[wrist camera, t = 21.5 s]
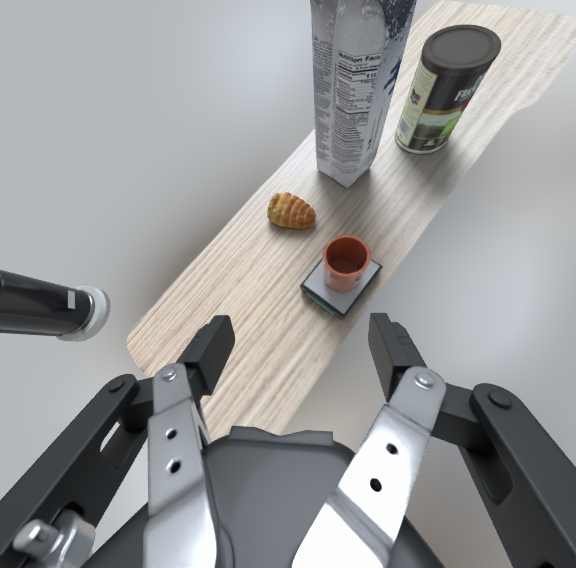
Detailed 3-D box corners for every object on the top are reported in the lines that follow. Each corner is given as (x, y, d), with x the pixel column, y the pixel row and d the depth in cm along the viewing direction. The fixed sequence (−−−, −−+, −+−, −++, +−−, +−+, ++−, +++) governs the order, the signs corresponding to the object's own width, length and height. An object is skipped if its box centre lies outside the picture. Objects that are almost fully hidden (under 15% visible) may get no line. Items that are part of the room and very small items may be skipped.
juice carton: (348, 195, 44) (383, -25, 18) (310, 170, 47) (296, -46, 22) (377, 167, 45) (450, -80, 19) (338, 144, 48) (356, -92, 22)
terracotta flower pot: (338, 300, 35) (342, 285, 27) (315, 272, 37) (314, 251, 29) (368, 278, 35) (380, 258, 28) (344, 252, 37) (349, 226, 30)
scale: (341, 322, 37) (342, 319, 34) (299, 291, 39) (298, 286, 37) (379, 270, 38) (384, 264, 35) (337, 244, 41) (338, 237, 38)
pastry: (321, 210, 44) (321, 197, 40) (307, 238, 42) (305, 227, 39) (280, 197, 46) (276, 184, 42) (265, 223, 45) (260, 212, 41)
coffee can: (459, 130, 44) (518, 35, 31) (425, 162, 43) (471, 78, 30) (415, 110, 47) (452, 15, 34) (383, 139, 46) (408, 53, 33)
